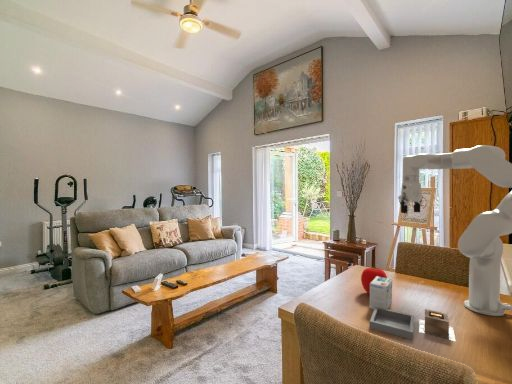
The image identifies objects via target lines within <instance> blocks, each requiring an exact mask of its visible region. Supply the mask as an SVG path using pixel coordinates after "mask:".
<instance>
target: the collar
mask: <svg viewBox="0 0 512 384" xmlns="http://www.w3.org/2000/svg"><path fill="white" fill-rule="evenodd" d="M431 313H434V314H439V315H442V318H441V319H440V318H435V317H432V316H431ZM424 320H425V331H426V332H430V333H434V334H438V335H442V336H446V337H449V326H450V322H449V315H448V313H446V312H442V311H437V310H431V309H426V308H425V309H424Z"/></svg>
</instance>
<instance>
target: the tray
mask: <svg viewBox="0 0 512 384" xmlns="http://www.w3.org/2000/svg"><path fill="white" fill-rule="evenodd" d="M369 329H371V330H375V331H378V332H382V333H386V334H389V335H391V336H397V337H401V338H404V339H407V340H410V341H414V333H415V332H414V331H415V315H414V314H409V313H406V312H401V311H396V310H392V309H389V308H388V309H384V308H380V307H375V309H373V311H372V314H371V317H370V320H369Z"/></svg>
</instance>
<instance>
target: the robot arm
mask: <svg viewBox="0 0 512 384" xmlns="http://www.w3.org/2000/svg"><path fill="white" fill-rule="evenodd" d="M420 169H421V170H449V169H453V170H454V169H455V170H457V169H458V170H461V169H462V170H463V169H474V170H475V171H477V172H478V173H479V174H481V175H482V176H483V177H485V178H486V179H487V180H488V181H490V182H491V183H493V184H494V185H496V186H498V187H501V188H504V189H505V188H509V189H511V188H512V162H510V161H508V160H507V159H506V153H505V151H504V149H502V148H501V147H498V146H494V145H486V144H485V145H484V144H482V145H481V144H480V145H476V146H474V147H471V148H459V149H455V150H454V151H453V152H448V153H446V152H445V153H437V154H436V153H423V152H422V153H418V154H415V155H414V154H413V155H406V156H404V157H403V158H402V183H401V184H402V185H401V191H400V195H398V196H397V198H398V201H399V205H400V213H402V214H408V207H409V206H408V203H410V202H411V203H412V202H413V203H414V204H413V212H414V213H421V206H422V202H423V199H424V198H423V197H424V196H423V195H422V187H421V182H420V178H421V177H420V174H421V173H420V171H421V170H420ZM510 234H512V189H511V191H510V192H509V193H507V194H506V195H505V196H504V197H503V199H501V201H500V202H499V204H498V205H497V206H496V207H495V208H494V209H493V210H489V211H488V210H487V211H483V212H481V213H479V214H478V215H476V216H475V217H474V218H473V220H472V221H471V222H470V223H469V225H468V226H467V228H466V229H465V230H464V231H463V233H462V234H461V236H460V237H459V239H458V242H457V247H458V250H459V253H461V254H462V255H463V256H465V257H466V258H469V267H468V269H469V270H468V271H469V273H468V299H465V300H464V301H463V305H464V307H466V309H468V310H470V311H472V312H475V313H476V314H477V313H478V314H481V315H486V316H492V317H503V316H505V314H506V311H510V312H511V311H512V305H511V304H510V303H506V302H505V303H504V302H502V301H501V300H500V298H501V297H500V295H501V294H500V293H501V291H500V290H501V263H502V258H503V252H504V243H503V241H502V239H501V238H500V237H502V236H508V235H510ZM505 310H506V311H505Z"/></svg>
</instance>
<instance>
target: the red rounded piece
mask: <svg viewBox="0 0 512 384" xmlns="http://www.w3.org/2000/svg"><path fill="white" fill-rule="evenodd" d="M376 276H378V277H383V278H388V275H387V273H386V272H385V271H384V270H383V269H381V268H380V267H379V268H378V267H376V266H374V267H371V266H370V267H367V268H365V269H364V270H363V271H362V273H361V275H360V281H361V285H362V288H363V289H364V291H365V292H366V293H367V294H368V295H370V283H371V282H372V281H373V280H374V279H375V277H376Z"/></svg>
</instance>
